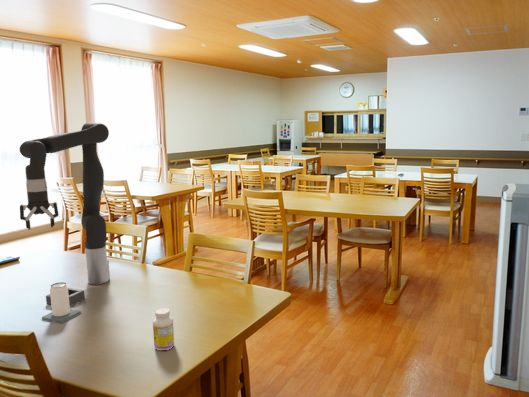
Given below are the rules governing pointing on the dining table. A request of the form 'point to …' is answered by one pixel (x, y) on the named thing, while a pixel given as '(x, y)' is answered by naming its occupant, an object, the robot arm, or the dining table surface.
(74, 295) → the sleeve
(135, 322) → the dining table surface
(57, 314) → the can
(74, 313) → the mat
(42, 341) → the dining table surface
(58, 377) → the dining table surface
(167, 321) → the supplement bottle
